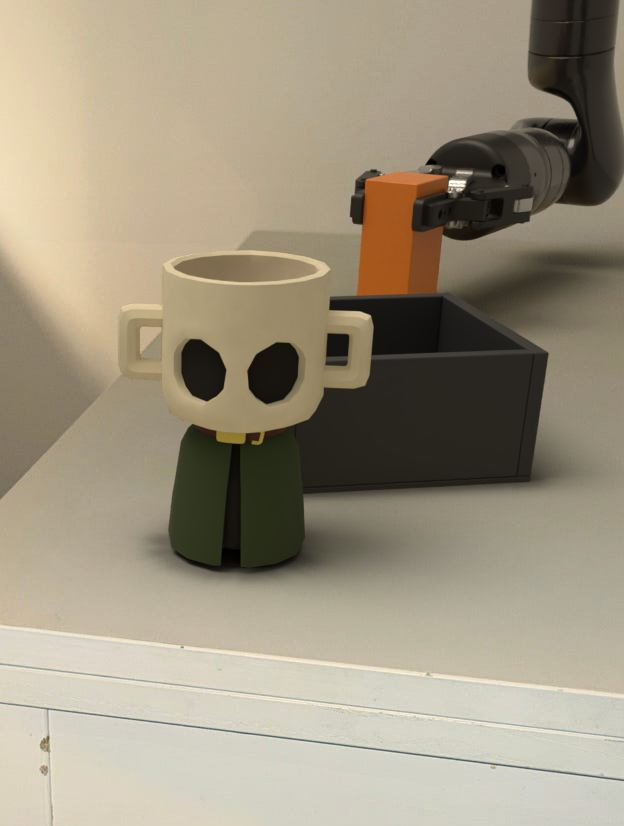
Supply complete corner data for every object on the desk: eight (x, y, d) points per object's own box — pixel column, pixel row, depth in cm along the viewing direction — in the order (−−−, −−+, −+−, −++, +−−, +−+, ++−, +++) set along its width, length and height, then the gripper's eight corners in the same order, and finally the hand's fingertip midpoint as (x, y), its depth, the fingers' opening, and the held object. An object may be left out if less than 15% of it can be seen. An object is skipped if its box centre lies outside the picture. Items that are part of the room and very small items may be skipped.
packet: (384, 323, 99) (397, 171, 94) (433, 331, 97) (449, 175, 92) (353, 336, 96) (365, 179, 91) (403, 344, 94) (417, 184, 89)
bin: (438, 409, 80) (451, 292, 77) (529, 486, 68) (549, 352, 65) (221, 418, 78) (224, 299, 75) (276, 500, 66) (283, 362, 63)
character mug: (106, 576, 58) (103, 279, 52) (130, 516, 64) (129, 245, 58) (354, 591, 57) (380, 288, 51) (354, 529, 63) (376, 252, 57)
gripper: (408, 126, 105) (300, 147, 92) (582, 139, 97) (490, 163, 85) (399, 223, 108) (294, 255, 96) (567, 242, 101) (476, 280, 88)
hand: (387, 212), depth 90 cm, fingers closed on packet, 4 cm apart
